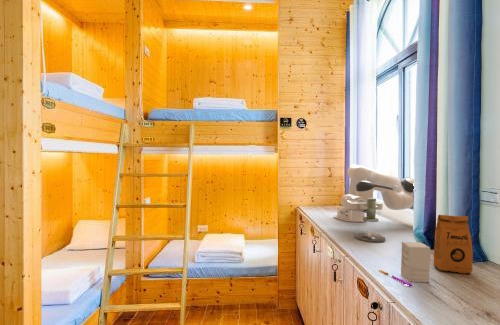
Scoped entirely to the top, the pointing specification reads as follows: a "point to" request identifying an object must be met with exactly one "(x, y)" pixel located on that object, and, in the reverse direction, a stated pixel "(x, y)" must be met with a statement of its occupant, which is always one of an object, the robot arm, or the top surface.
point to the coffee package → (453, 244)
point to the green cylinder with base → (371, 211)
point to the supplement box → (415, 261)
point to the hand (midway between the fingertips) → (372, 207)
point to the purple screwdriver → (397, 278)
